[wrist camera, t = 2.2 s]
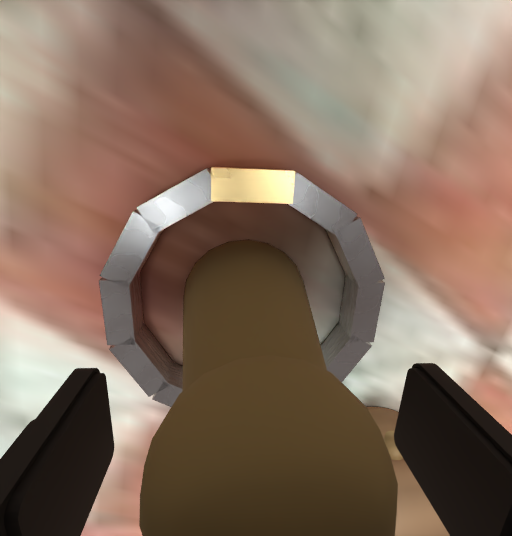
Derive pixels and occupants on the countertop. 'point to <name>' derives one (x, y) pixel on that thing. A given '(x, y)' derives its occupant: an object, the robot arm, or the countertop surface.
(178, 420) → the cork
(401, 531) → the pot
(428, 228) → the countertop surface
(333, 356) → the collar
